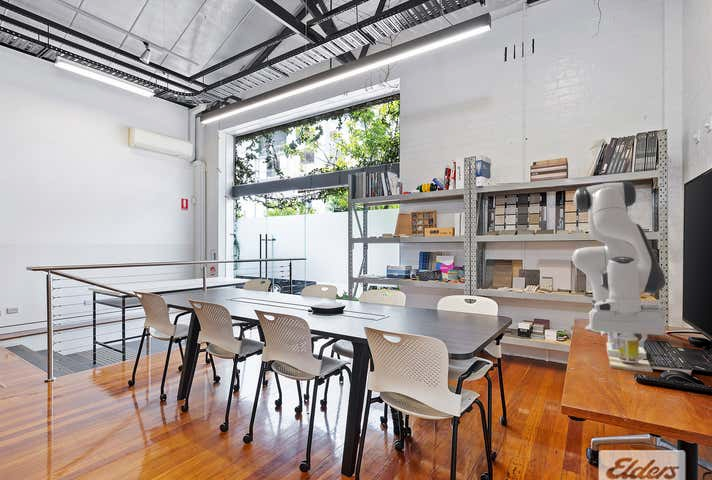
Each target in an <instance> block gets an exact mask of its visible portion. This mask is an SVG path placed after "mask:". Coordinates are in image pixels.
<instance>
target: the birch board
mask: <svg viewBox="0 0 712 480" xmlns="http://www.w3.org/2000/svg"><path fill="white" fill-rule="evenodd" d="M608 361H609V366H610V369H616V370H625V371H637V372H644V373H645V372H647V373H653V368H652V366H651V363H650V362H649V360H648V359H647V360H643V359H639V361H638V362H636V363H629V362H624V361H621V360H620V359H619V357H608Z"/></svg>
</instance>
